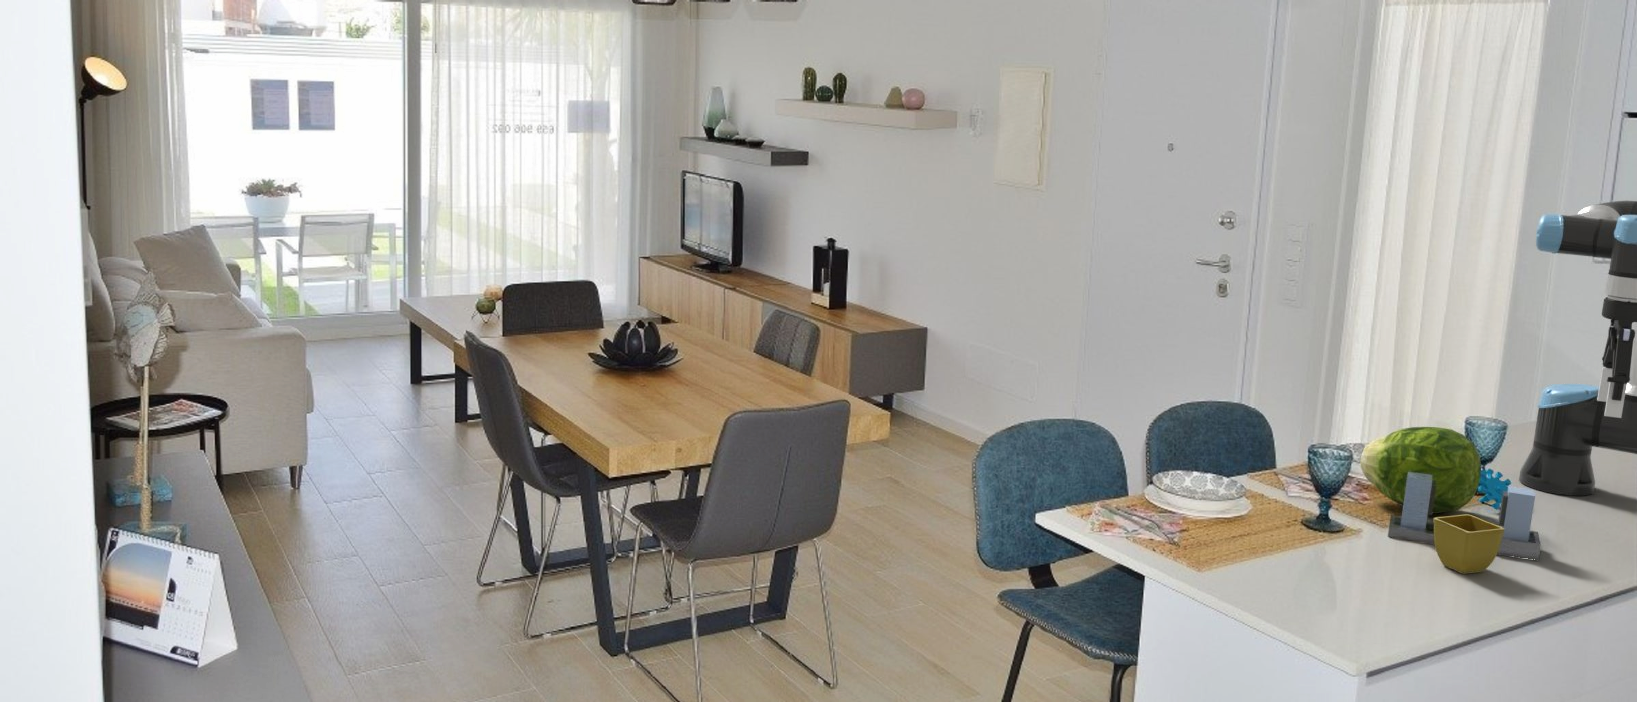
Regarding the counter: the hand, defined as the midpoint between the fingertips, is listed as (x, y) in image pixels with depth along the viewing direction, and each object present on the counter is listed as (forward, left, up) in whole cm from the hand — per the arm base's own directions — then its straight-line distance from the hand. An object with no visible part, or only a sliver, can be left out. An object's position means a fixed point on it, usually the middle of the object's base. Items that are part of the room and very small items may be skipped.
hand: (1608, 409), depth 266 cm
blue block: (+6, -13, -27) cm, 30 cm away
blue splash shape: (-23, -15, -29) cm, 40 cm away
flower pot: (+23, -22, -29) cm, 43 cm away
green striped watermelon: (-12, -31, -29) cm, 44 cm away
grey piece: (+6, -22, -29) cm, 37 cm away
